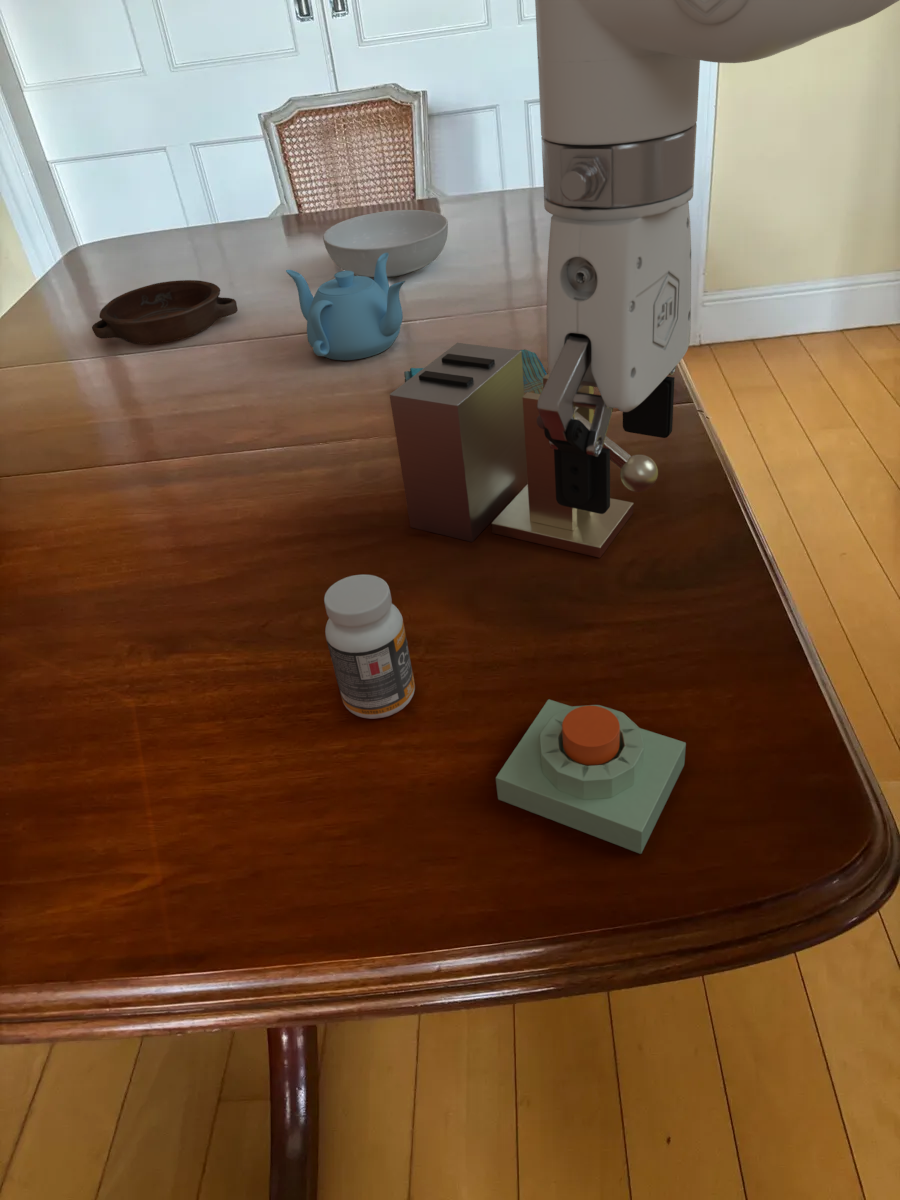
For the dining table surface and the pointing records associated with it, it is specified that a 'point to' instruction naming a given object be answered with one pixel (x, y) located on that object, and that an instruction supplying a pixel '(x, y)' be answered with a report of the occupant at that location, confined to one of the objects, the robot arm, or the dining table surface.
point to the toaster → (461, 439)
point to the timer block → (593, 779)
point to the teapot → (351, 313)
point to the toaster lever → (628, 464)
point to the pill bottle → (368, 647)
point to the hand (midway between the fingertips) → (616, 468)
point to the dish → (163, 312)
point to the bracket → (537, 506)
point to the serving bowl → (387, 241)
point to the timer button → (591, 735)
